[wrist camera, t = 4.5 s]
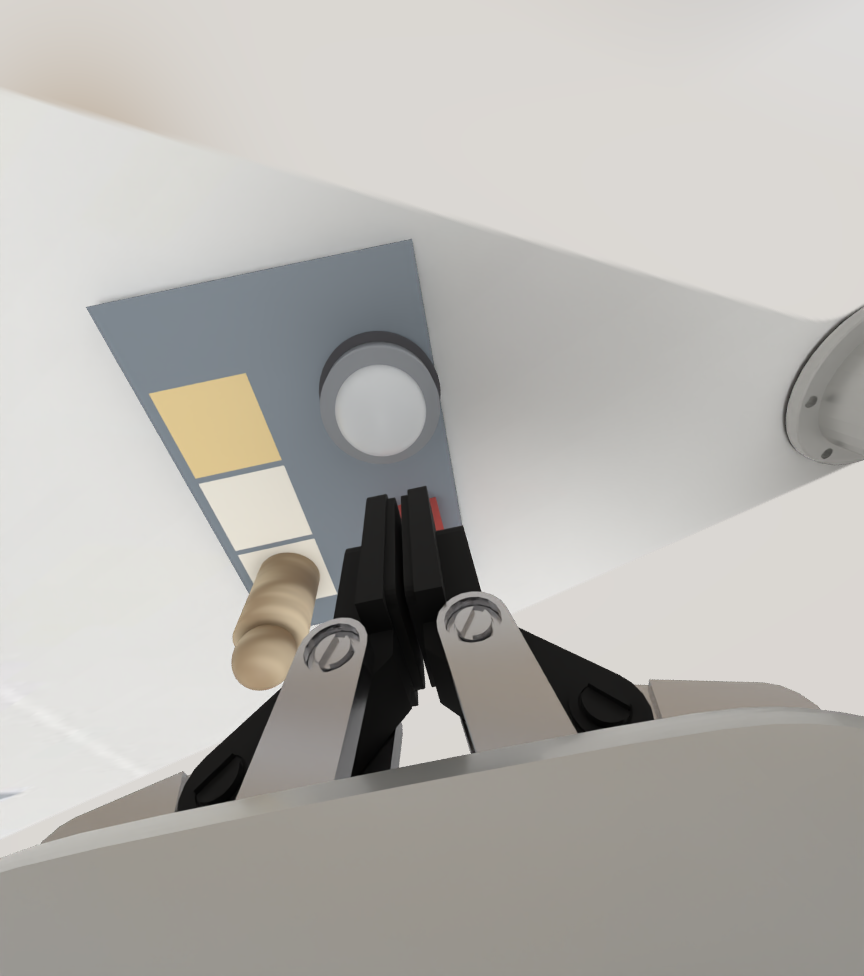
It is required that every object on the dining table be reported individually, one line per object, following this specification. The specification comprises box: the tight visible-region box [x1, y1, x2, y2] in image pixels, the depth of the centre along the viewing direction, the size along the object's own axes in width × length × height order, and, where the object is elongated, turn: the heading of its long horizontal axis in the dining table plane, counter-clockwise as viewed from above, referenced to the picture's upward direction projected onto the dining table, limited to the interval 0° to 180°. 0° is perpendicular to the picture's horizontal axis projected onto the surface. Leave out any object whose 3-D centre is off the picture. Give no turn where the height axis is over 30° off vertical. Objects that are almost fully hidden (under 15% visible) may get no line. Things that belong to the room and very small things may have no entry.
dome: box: [320, 342, 440, 464], centre depth 21 cm, size 6×6×5 cm
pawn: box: [232, 552, 320, 690], centre depth 26 cm, size 4×4×9 cm
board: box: [86, 239, 462, 626], centre depth 25 cm, size 17×25×6 cm
